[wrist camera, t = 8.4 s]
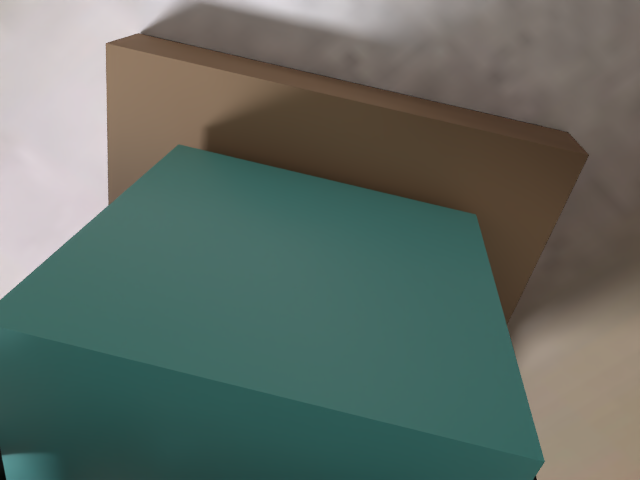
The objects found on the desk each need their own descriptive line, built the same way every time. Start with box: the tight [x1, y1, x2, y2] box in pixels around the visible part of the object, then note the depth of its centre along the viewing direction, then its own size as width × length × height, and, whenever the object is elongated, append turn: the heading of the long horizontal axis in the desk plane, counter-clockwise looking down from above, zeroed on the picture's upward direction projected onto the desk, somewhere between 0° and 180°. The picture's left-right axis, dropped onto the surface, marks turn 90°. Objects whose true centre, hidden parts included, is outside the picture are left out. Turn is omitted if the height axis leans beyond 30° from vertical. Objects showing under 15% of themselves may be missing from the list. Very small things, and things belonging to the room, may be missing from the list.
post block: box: [106, 33, 589, 324], centre depth 12 cm, size 10×10×6 cm
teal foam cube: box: [0, 144, 545, 480], centre depth 10 cm, size 6×6×6 cm
